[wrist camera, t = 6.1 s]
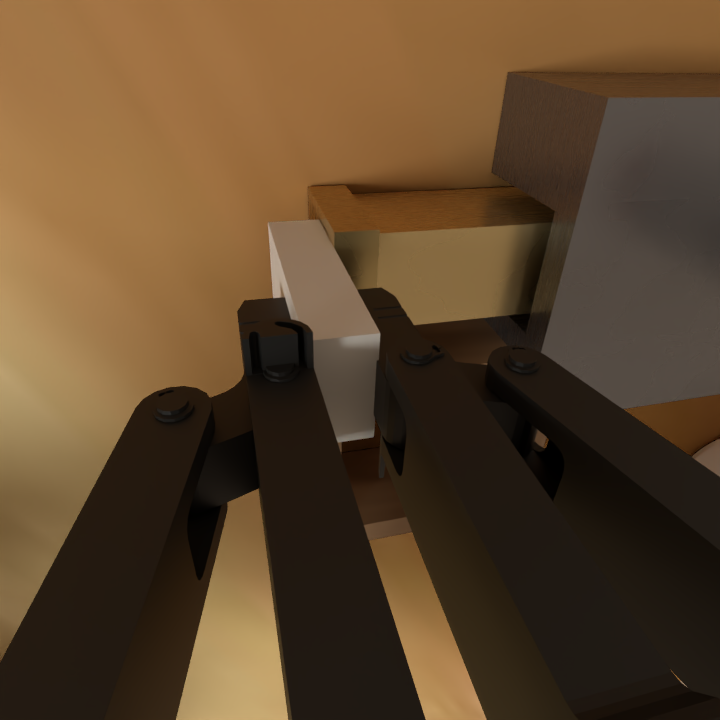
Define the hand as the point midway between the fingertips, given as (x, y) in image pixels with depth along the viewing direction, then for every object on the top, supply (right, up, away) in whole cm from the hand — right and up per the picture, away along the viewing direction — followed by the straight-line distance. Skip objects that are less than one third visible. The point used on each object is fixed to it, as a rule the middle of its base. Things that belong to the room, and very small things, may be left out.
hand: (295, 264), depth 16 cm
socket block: (+13, +3, +5) cm, 14 cm away
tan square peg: (+6, +2, +3) cm, 6 cm away
